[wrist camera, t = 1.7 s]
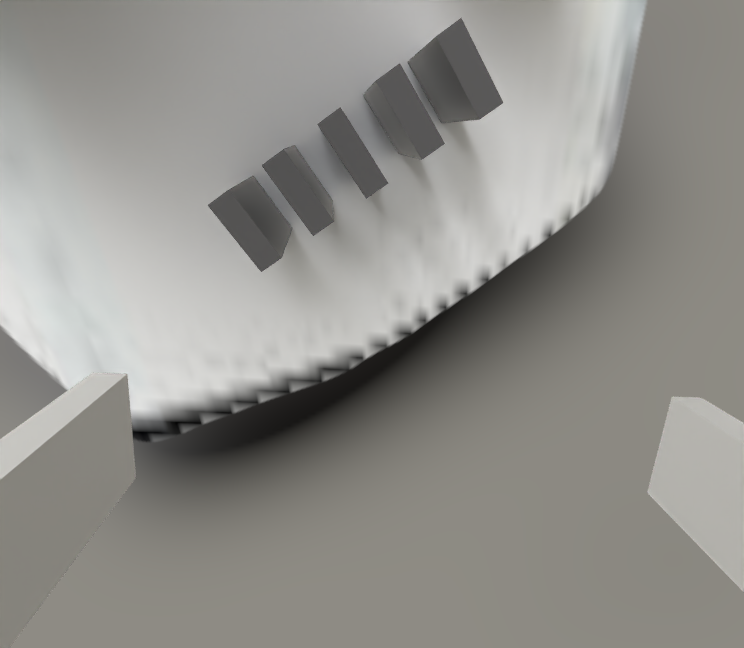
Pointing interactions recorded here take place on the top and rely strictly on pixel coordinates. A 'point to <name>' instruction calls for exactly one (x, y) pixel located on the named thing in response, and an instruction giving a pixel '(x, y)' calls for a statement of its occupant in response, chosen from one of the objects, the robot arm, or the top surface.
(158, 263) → the top surface
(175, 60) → the top surface
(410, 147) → the domino
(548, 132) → the top surface
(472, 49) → the domino
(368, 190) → the domino
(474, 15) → the top surface
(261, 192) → the domino
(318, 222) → the domino
